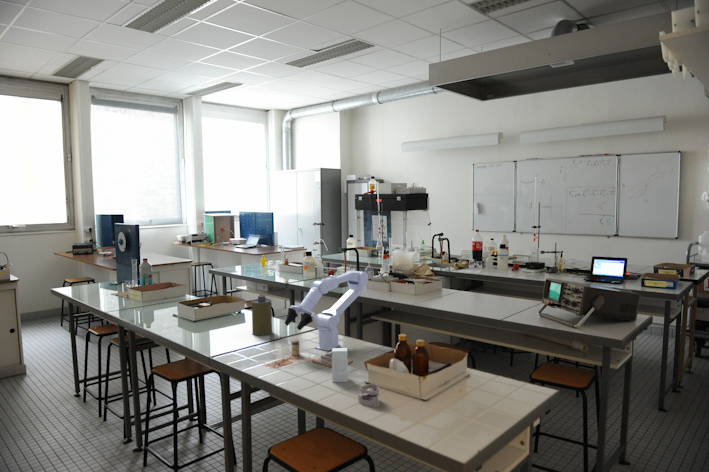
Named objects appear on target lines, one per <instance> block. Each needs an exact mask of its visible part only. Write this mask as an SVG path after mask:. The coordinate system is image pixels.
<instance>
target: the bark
mask: <svg viewBox="0 0 709 472" xmlns="http://www.w3.org/2000/svg"><path fill="white" fill-rule="evenodd" d="M302 360H303V361H306V362H304V364H307V363H308V362H312V361H314V360H316V358H315V359H314V358H311V357H307V358H303V359H302V357H301V356H292V355H291V356H289V357H284V358H281V359H278V360H275V361H272V362H269V363H267V364H266V365H264V364H263V365H262V367H263V366H264V367H266V368H267V367H269V369H273V370H274V369H279V368H282V367H284V366H285V367H286V366H289V365H292V364H295V363H296V362H300V361H302ZM288 369H291V367H290V368H288Z"/></svg>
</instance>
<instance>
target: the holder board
mask: <svg viewBox="0 0 709 472" xmlns="http://www.w3.org/2000/svg"><path fill="white" fill-rule="evenodd" d="M311 362H312V363H313V364H318V365H322V366H327V367H330V368H332V351H329V352H327V353H324V354H323V355H321V356H320V357H319V358H315V360H312V361H311ZM352 363H353V360H352V359H348V365H349V364H352Z"/></svg>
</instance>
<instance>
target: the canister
mask: <svg viewBox="0 0 709 472" xmlns="http://www.w3.org/2000/svg"><path fill="white" fill-rule="evenodd" d="M251 317H252V318H251V320H252V336H257V337H259V336H260V337H265V336H269V335H272V334H273V320H272V318H273V316H272V299H270V298H267V297H266V295H265V294H264V295H258V296H257V298H256V299H252V300H251Z"/></svg>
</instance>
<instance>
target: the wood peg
mask: <svg viewBox="0 0 709 472" xmlns="http://www.w3.org/2000/svg"><path fill="white" fill-rule="evenodd" d="M290 343H291V346H290V347H291V356H298V357H300V341H299V340H292V341H291V342H290Z"/></svg>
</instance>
